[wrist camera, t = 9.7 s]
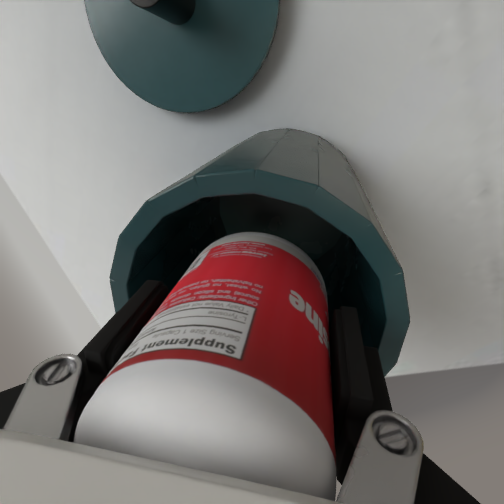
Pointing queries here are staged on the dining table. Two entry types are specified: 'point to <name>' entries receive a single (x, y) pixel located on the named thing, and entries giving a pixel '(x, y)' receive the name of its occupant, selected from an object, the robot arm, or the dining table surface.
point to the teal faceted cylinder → (275, 228)
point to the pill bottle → (230, 372)
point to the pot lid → (184, 47)
